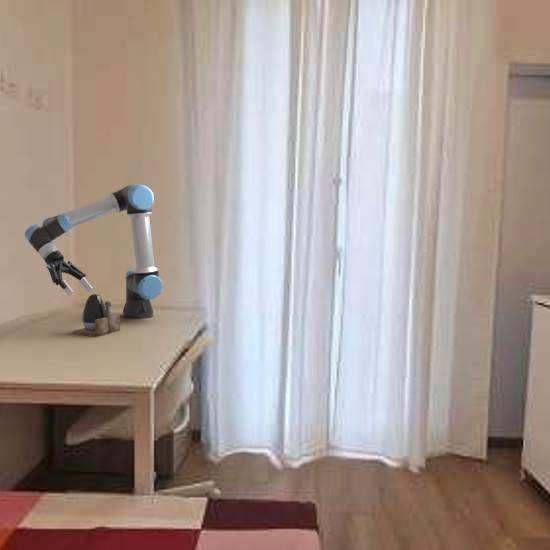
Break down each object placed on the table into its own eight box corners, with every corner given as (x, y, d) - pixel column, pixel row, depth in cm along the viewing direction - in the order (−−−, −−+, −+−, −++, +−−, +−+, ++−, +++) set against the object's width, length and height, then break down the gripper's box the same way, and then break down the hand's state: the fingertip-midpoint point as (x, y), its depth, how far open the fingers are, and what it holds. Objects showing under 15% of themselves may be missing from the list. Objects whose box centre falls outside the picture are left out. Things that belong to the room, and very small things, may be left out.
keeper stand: (94, 328, 287) (94, 297, 286) (121, 330, 283) (121, 299, 281) (72, 334, 272) (71, 301, 271) (99, 336, 268) (99, 303, 266)
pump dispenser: (110, 327, 283) (110, 293, 281) (101, 331, 272) (101, 296, 271) (87, 326, 283) (87, 292, 282) (78, 330, 273) (78, 295, 272)
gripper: (64, 259, 295) (92, 294, 291) (26, 263, 271) (57, 301, 268) (74, 248, 292) (103, 283, 289) (37, 251, 269) (67, 289, 265)
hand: (81, 291), depth 278 cm, fingers open, 13 cm apart
